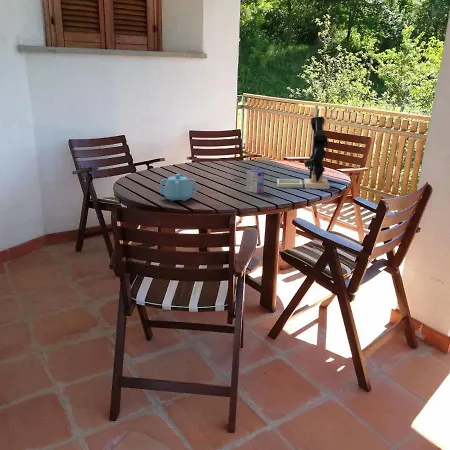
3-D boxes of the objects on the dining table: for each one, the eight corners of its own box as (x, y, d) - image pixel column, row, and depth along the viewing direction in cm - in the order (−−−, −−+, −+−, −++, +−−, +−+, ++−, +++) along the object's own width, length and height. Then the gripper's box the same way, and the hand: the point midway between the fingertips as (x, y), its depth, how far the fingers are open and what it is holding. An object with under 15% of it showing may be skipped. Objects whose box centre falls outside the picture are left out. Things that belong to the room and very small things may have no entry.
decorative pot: (182, 194, 255) (181, 170, 251) (199, 199, 243) (199, 174, 239) (157, 198, 245) (156, 173, 241) (174, 204, 233) (173, 178, 229)
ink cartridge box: (264, 192, 259) (264, 167, 255) (256, 193, 256) (257, 168, 252) (252, 189, 267) (253, 165, 262) (245, 190, 264) (246, 166, 259)
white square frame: (304, 183, 284) (304, 178, 283) (326, 183, 283) (326, 179, 282) (305, 188, 270) (306, 183, 269) (329, 189, 269) (329, 184, 268)
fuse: (311, 182, 278) (312, 171, 276) (321, 182, 278) (322, 171, 275) (311, 183, 274) (312, 172, 272) (322, 183, 274) (322, 172, 272)
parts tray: (277, 182, 285) (277, 178, 284) (300, 183, 284) (301, 179, 283) (277, 187, 272) (277, 183, 271) (302, 188, 271) (302, 184, 270)
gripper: (303, 152, 280) (302, 177, 285) (306, 157, 262) (304, 183, 267) (322, 152, 279) (320, 177, 284) (325, 157, 261) (323, 184, 266)
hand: (316, 180), depth 275 cm, fingers closed on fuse, 4 cm apart
